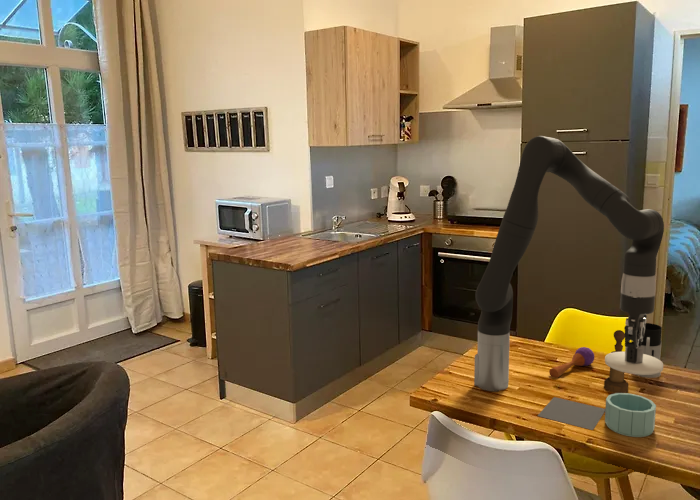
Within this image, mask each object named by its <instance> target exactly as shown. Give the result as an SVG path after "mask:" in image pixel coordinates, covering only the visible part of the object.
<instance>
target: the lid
mask: <svg viewBox="0 0 700 500" xmlns="http://www.w3.org/2000/svg"><path fill="white" fill-rule="evenodd" d="M624 347H625V346H624ZM643 349H644V348H643V347H641V346H639V347H638V352H637V362H636V363H632V362H628V361H627V347H625V348H624V351H622V352H613V351H612V352H613V353H611V352H610V353H607V354H606V355H605V356H604V362H605V365H607V367H608V368H610V367H611V368H613V369H615V370H618V371H621V372H625V373H627V374H629V375H630V374H632V375H635V374H638V375H651V374H657V373H661V372H663V371H664V363H663V361H661V359H660V360H659V359H657V358H655V357H652V356H649V355H646V354H643ZM625 373H624V374H625Z"/></svg>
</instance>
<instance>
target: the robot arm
mask: <svg viewBox="0 0 700 500" xmlns="http://www.w3.org/2000/svg"><path fill="white" fill-rule="evenodd" d="M519 162H520V163H519V166H518V171H517V174H516V179H515V182H514V186H513V188H512V192H511V195H510V197H509V200H508V203H507V207H506V209H505V212H504V214H503V217H502V219H501V223H500V226H499V228H498V231H497V235H496V238H495V241H494V244H493V246H492V247H493V248H492V251H491V256H490V259H489V261H488V264H487V266H486V268H485V271H484V273H483V275H482V277H481V280H480V282H479V284H478V285H477V288H476V289H475V290H476V291H475V293H474V294H475V295H474V296H475V302H476V304H477V306H478V307H479V309H480V311H481V312H480V316H479V317H478V321H477V353H476V354H475V355H474V377H473V378H474V379H473V381H474V382H473V383H474V386H476V387H478V388H479V389H482V390H484V391H489V392H500V391H504V390H506V389H508V388H509V380H510V379H509V377H510V375H509V371H510V369H509V368H510V340H511V339H510V337H511V336H510V335H511V333H510V332H511V323H512V319H513V305H514V291H513V290H514V289H513V286H512V284H511V280H512V278H513V275H514V272H515V270H516V268H517V266H518V264H519V263H520V261H521V260H522V258H523V256H524V255H525V253H526V250H527V249H528V247H529V245H530V243H531V241H532V238H533V236H534V233H535V231H536V227H537V224H538V221H539V199H538V197H539V192H540V187H541V185H542V183H543V179H544V178H545V175H546V173H550V174H551V173H552V174H553V175H555V176H558V177H560V178H561V179H563V180H565V181H566V182H567V183H569V184H570V185H571V186H572V187H573V188H574V189H575V190H576V192H577V193H578V194H579V195H580V197H581V198H582V199H583V200H584V201H585V202H586V203H588V205H590V206H591V207H593V208H594V209H595V210H596V211H598V212H599V213H600V214H602V215H603V216H605V217H606V218H607V220H608V221H609V222H610V224H611V225H612V227H614V228H615V229H616V230H617V231H618V232H619V233H620V235H622V236H624V237H625V238H627V239H628V240H631V246H630V248H628V249H627V250H626V251H625V252H624V256H623V266H622V267H623V268H622V269H623V270H622V276H621V281H620V286H621V287H620V300H619V309H620V311H622V312H624V313H627V314H628V317H626V319H625V325H624V328H623V329H624V333H625V338H624V347H627V361H628V362H632V363H636V362H637V352H638V347H639V346H641V342H642V341H643V338H644V333H645V324H646V323H647V317H648V316H647V315H650V314H651V315H652V313H654V311H655V303H656V291H657V290H656V289H657V288H656V287H657V282H656V279H657V278H656V273H657V257H658V253H659V251H660V248H661V247H660V246H661V243H662V241H663V237H664V231H665V224H664V223H665V222H664V219H663V216H662V215H661V214H660V212H659V211H657V210H655V209H651V208H646V209H641V210H639V209H637V208H635V207H634V205H632V204H631V203H630V202H631V201H630V197H629V196H628V195H627V194H626V193H625V192H623V191H622V190H621V189H619V188H618V187H617V186H615V185H614V184H612V183H611V182H609V181H608V180H607V179H605V178H603V177H602V176H600V174H598V173H597V172H595V171H594V170H592V169H591V168H590V167H589V166H587V165H586V164H585V163H584V162H583V161H582V160H581V159H579V157H577V155H576V154H574V152H573V151H572V150H571V149H570V148H569V147H568V146H567V145H566V144H565V143H564V142H562V141H561V140H560V139H558V138H555V137H549V136H544V135H538V136H534V137H532V138H531V139H529V140H528V142H527V143H526V144H525V146H524V149H523V151H522V154H521V158H520V161H519Z"/></svg>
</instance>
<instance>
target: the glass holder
mask: <svg viewBox="0 0 700 500" xmlns="http://www.w3.org/2000/svg"><path fill="white" fill-rule="evenodd" d="M662 329H663V327H662V326H661V325H658V324H656V323H650V322H646V324H645V333H644V338H643V341H642V342H641V347H643V348H644V349H643V354H646V355H649V356H652V357H655V358H657V359H659V360H660V361H661V352H662V331H663V330H662ZM661 374H662V373H661V372H660V373H657V374H651V375H638V374H634V375H635V376H637V377H638V376H639V377H642V378H647V379H648V378H650V379H651V378H653V379H655V378H659V377H661Z"/></svg>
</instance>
